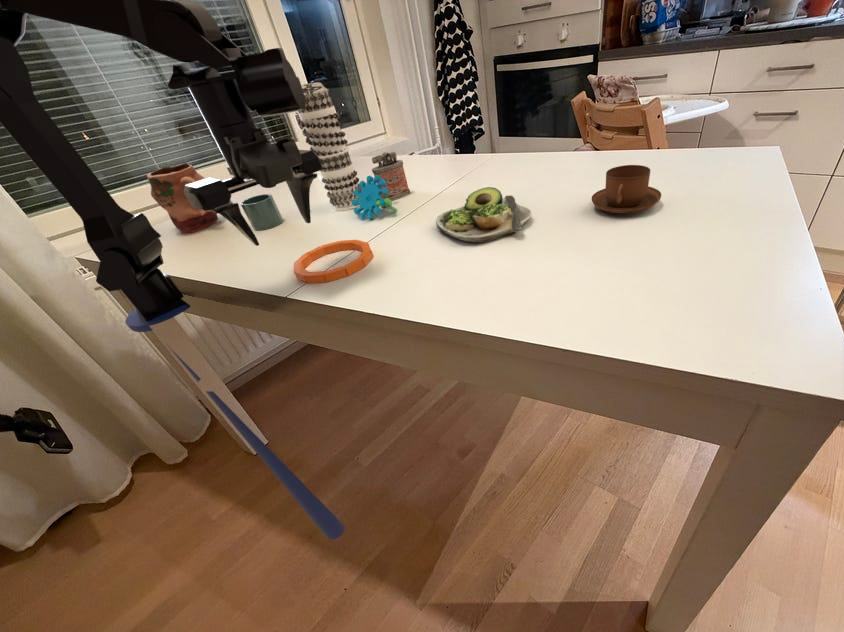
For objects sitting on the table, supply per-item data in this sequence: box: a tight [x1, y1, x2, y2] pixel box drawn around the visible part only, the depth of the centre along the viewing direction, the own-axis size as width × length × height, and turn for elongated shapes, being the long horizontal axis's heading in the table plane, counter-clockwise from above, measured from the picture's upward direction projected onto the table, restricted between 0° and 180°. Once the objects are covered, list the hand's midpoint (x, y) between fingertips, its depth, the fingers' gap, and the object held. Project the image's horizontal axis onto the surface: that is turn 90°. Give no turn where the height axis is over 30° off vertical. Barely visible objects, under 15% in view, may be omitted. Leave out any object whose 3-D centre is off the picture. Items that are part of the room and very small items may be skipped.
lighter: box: [371, 151, 411, 202], centre depth 94 cm, size 8×3×10 cm, turn 130°
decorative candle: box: [297, 81, 361, 212], centre depth 90 cm, size 9×9×25 cm
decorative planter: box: [146, 162, 219, 233], centre depth 98 cm, size 20×12×14 cm, turn 64°
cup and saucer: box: [591, 164, 662, 214], centre depth 71 cm, size 12×12×6 cm
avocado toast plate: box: [435, 186, 532, 243], centre depth 74 cm, size 19×18×5 cm
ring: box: [293, 239, 374, 284], centre depth 71 cm, size 14×14×1 cm
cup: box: [240, 193, 284, 231], centre depth 93 cm, size 7×7×6 cm
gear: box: [352, 175, 398, 220], centre depth 89 cm, size 11×6×10 cm
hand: (283, 233), depth 64 cm, fingers open, 9 cm apart
